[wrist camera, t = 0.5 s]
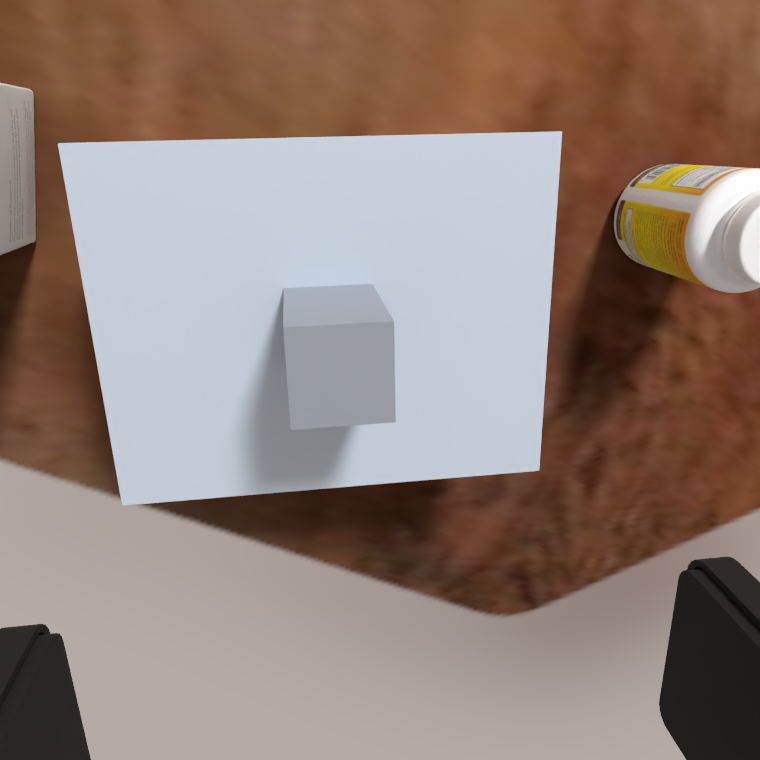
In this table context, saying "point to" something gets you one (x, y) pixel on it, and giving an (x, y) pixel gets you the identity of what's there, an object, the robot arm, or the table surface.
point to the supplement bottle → (694, 224)
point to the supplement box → (17, 168)
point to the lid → (316, 307)
